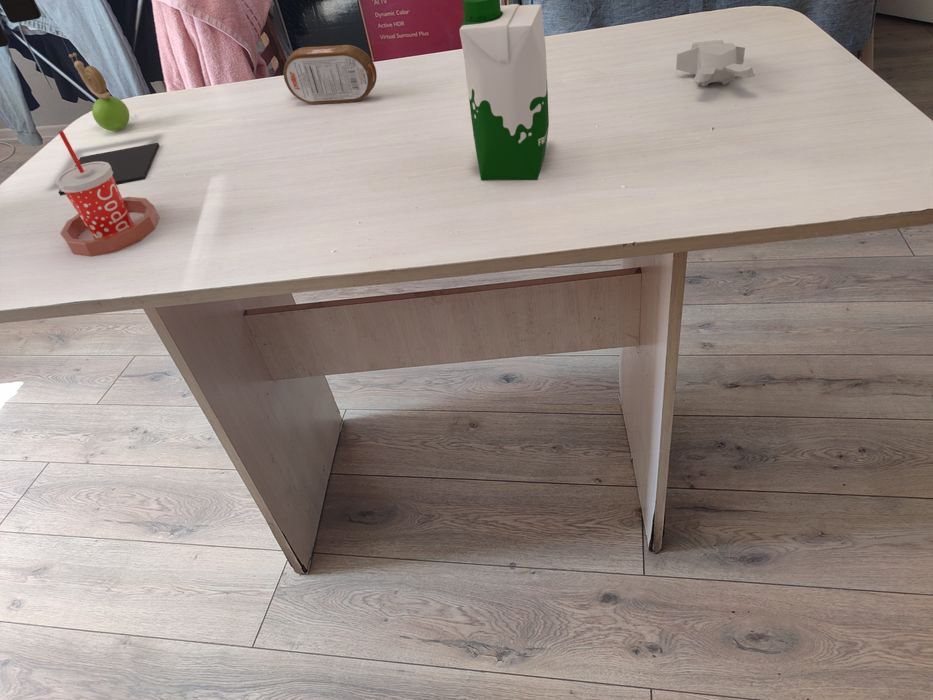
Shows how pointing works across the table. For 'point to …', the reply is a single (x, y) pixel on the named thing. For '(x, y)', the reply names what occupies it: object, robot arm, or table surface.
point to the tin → (330, 74)
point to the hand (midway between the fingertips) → (10, 33)
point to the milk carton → (506, 87)
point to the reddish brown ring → (115, 240)
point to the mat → (125, 162)
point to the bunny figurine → (714, 62)
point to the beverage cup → (94, 195)
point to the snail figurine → (103, 99)
